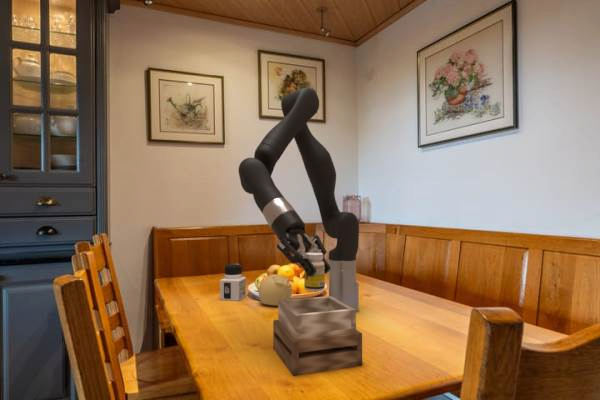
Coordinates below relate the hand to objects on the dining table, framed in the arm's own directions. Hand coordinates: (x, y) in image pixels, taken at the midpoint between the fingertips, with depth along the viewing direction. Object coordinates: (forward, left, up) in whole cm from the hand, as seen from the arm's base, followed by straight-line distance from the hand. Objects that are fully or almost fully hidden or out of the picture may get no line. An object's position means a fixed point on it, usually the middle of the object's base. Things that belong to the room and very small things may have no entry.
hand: (320, 272), depth 89 cm
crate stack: (+1, -1, -20) cm, 20 cm away
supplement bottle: (+1, -2, -4) cm, 5 cm away
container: (+10, -65, -20) cm, 69 cm away
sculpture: (-3, -51, -20) cm, 55 cm away
